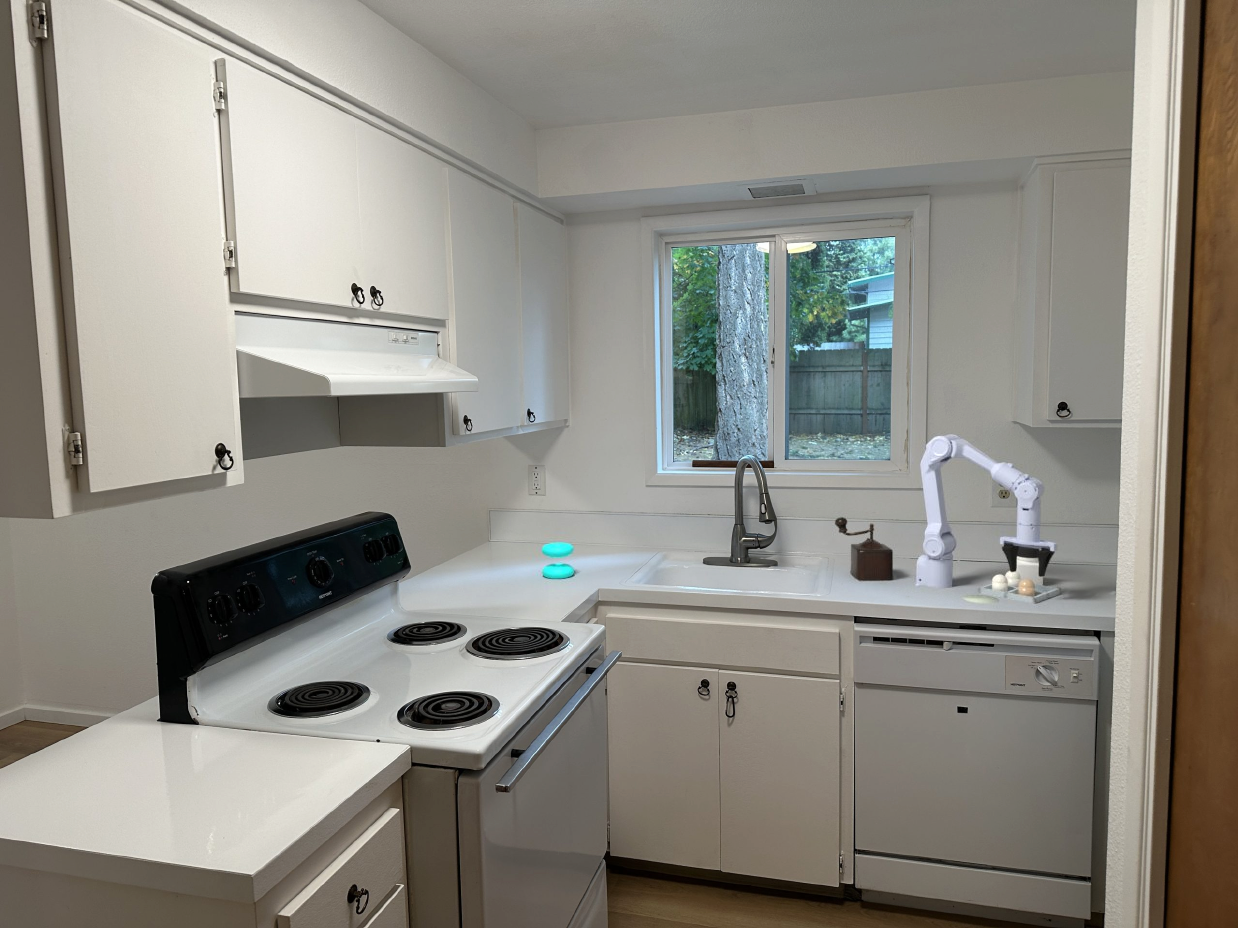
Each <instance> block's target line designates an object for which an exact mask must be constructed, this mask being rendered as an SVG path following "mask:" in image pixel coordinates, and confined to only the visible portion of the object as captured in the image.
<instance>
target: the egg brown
mask: <svg viewBox="0 0 1238 928" xmlns="http://www.w3.org/2000/svg"><path fill="white" fill-rule="evenodd" d="M1018 594H1019V595H1024V596H1030V597H1035V584H1034V582H1033V581H1032V580H1030V579H1023V580H1021V581H1020V582H1019V588H1018Z"/></svg>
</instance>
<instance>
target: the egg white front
mask: <svg viewBox="0 0 1238 928" xmlns="http://www.w3.org/2000/svg"><path fill="white" fill-rule="evenodd" d="M991 584H992V590H997V591H1002V592H1008V580H1007V578H1006V577H1005V575H1004V574H1001V573H999V574H996V575H994V576H993V577H992V579H991Z"/></svg>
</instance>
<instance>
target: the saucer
mask: <svg viewBox="0 0 1238 928" xmlns="http://www.w3.org/2000/svg"><path fill="white" fill-rule="evenodd" d="M962 599H963V600H965V601H967V602H970V603H976V604H996V603H999V602H1000V599H998V597H996V596H991V595H986V594H968V595H964V596H963V597H962Z"/></svg>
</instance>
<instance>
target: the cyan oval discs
mask: <svg viewBox="0 0 1238 928" xmlns="http://www.w3.org/2000/svg"><path fill="white" fill-rule="evenodd" d="M573 552H574V546H573V545H572V544H570V543H569V542H550V543H547V544H544V545H543V546H542V548H541V553H542V554H543V555H544V556H545V557H549V558H552V559H553V558H556V559H557V558H558V559H559V558H565V557H566V558H567V557H569V556H571V554H573ZM541 573H542V575H543V576H544V577H545V578H548V579H554V580H556V579H557V580H559V579H560V580H561V579H567V578H570V577H572V576H573V575H574V573H575V568H574V567H573V566H572V565H570V564H569V563H564V562H563V563H562V562H560V563H559V562H557V563H549V564H547V565H546V566H544V567H543V568H542V571H541Z"/></svg>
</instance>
